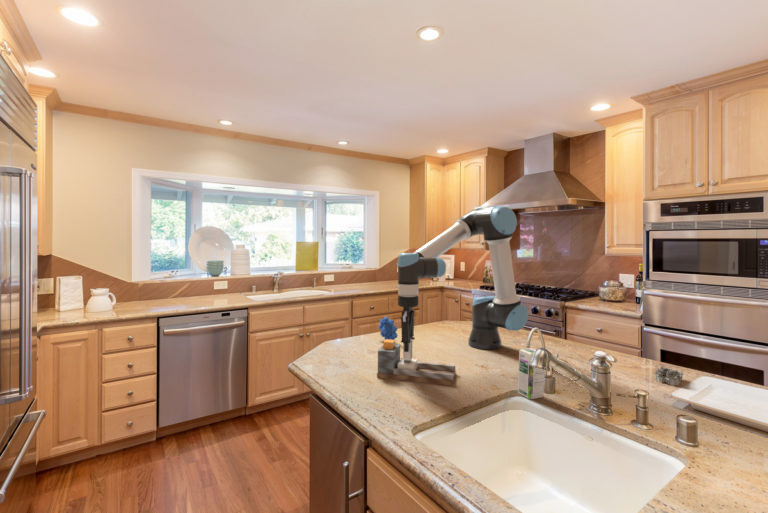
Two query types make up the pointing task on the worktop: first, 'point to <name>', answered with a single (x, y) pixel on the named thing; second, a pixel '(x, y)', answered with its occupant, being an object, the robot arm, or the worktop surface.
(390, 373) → the rail base
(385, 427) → the worktop surface
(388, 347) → the button
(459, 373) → the worktop surface
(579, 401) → the worktop surface
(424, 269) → the robot arm
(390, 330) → the grapes
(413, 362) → the carriage
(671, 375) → the grey ruffled clump
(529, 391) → the syrup box
